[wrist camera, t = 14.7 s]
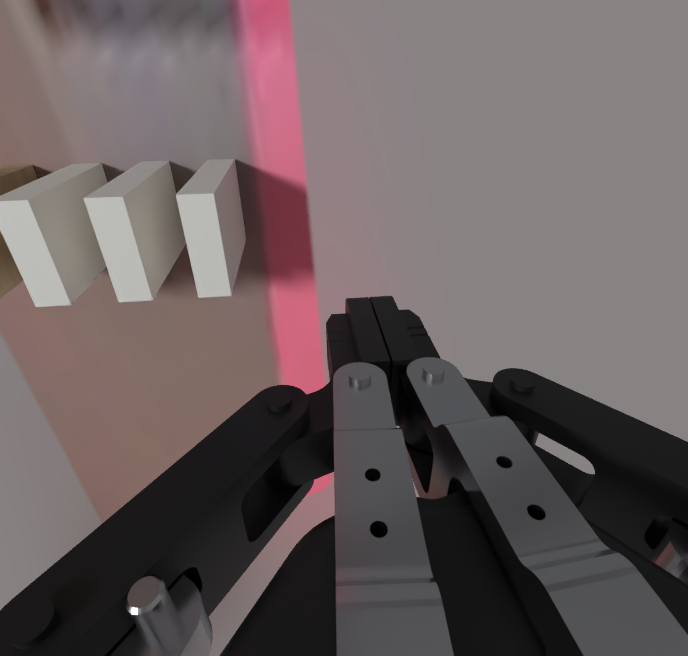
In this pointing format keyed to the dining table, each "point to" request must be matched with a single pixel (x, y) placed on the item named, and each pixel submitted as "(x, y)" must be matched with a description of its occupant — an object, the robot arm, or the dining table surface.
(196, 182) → the domino
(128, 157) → the dining table surface
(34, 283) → the domino
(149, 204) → the domino
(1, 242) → the domino
